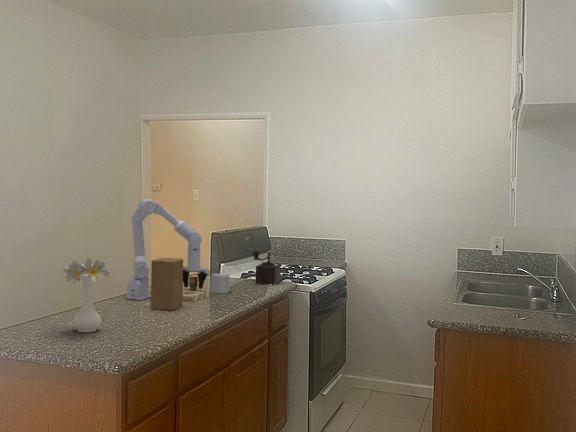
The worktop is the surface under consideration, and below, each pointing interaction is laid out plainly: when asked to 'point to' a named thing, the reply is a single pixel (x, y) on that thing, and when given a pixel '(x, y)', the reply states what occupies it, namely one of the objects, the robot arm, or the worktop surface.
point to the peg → (193, 283)
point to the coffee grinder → (266, 270)
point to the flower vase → (86, 292)
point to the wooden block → (166, 283)
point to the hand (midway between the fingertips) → (193, 287)
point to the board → (194, 295)
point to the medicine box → (220, 283)
